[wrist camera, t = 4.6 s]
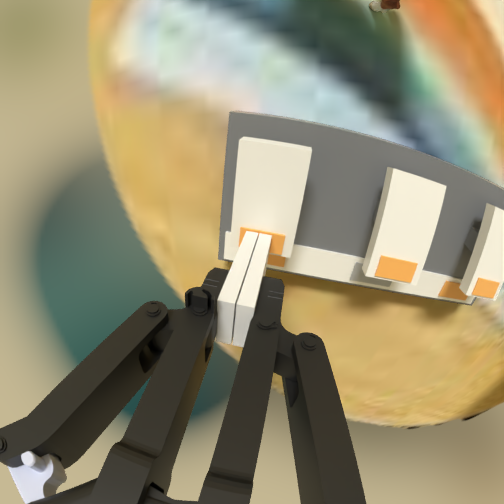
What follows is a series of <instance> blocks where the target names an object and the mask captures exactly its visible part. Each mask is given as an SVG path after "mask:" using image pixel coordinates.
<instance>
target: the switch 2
mask: <svg viewBox="0 0 504 504" xmlns="http://www.w3.org/2000/svg"><path fill="white" fill-rule="evenodd" d="M503 282H504V210H502V209H500V208H498V207H495V206H493V205H491V204H488V203H487V204H486V208H485V212H484V216H483V220H482V223H481V227H480V230H479V234H478V237H477V240H476V243H475V246H474V249H473V252H472V255H471V258H470V261H469V264H468V266H467V269H466V272H465V274H464V277H463V279H462V282H461V284H460V287H459V288H460V289H461V290H462V292H463V293H464V294H465V295H468V296H473V297H479V298H484V299H489V300H496V298H497V296H498V294H499V291H500V289H501V287H502V284H503Z"/></svg>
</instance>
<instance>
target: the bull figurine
mask: <svg viewBox="0 0 504 504" xmlns="http://www.w3.org/2000/svg"><path fill="white" fill-rule="evenodd" d="M369 7H370V8H371V9H372V10H373V11H377V12H378V11H381V12H382V13H386V12H387V11H388V10H390V9H399V8H400V4H399V0H382V1H381V2H376V1H372V2H371V3H370V4H369Z"/></svg>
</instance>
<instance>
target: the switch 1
mask: <svg viewBox="0 0 504 504" xmlns="http://www.w3.org/2000/svg"><path fill="white" fill-rule="evenodd" d="M311 154H312V147H307V146H302V145H297V144H291V143H285V142H279V141H273V140H266V139H259V138H252V137H242V138H241V139H239V145H238V156H237V167H236V178H235V189H234V201H233V213H232V225H231V238H230V247H235V248H239V247H240V245H241V242H242V240H243V237H244V235H245V233H246V231H250V232H256V233H258V237H259V234H260V233H261V234H267V235H272V238H271V244H270V250H269V254H272V255H277V256H282V257H287V258H290V257H291V253H292V248H293V244H294V239H295V235H296V230H297V225H298V220H299V216H300V211H301V206H302V201H303V196H304V191H305V186H306V181H307V175H308V170H309V165H310V159H311Z"/></svg>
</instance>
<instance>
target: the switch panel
mask: <svg viewBox="0 0 504 504" xmlns="http://www.w3.org/2000/svg"><path fill="white" fill-rule="evenodd" d="M242 137H252V138H259V139H266V140H273V141H279V142H285V143H291V144H297V145H302V146H307V147H312V154H311V159H310V165H309V170H308V175H307V181H306V186H305V191H304V196H303V201H302V206H301V211H300V216H299V220H298V225H297V230H296V235H295V239H294V244H293V248H292V253H291V257H290V258H287V257H282V256H277V255H272V254H269V256H268V262H267V268H266V269H270V270H275V271H280V272H285V273H291V274H296V275H301V276H306V277H312V278H317V279H322V280H328V281H333V282H339V283H344V284H350V285H355V286H361V287H366V288H372V289H377V290H383V291H389V292H394V293H400V294H406V295H411V296H417V297H423V298H429V299H435V300H441V301H447V302H453V303H459V304H465V305H471V306H472V304H473V303H474V301H475V299H476V298H477V297H473V296H468V295H465V294H464V293H463V292H462V290H461V289H460V288H459V287H460V284H461V282H462V279H463V277H464V274H465V272H466V269H467V266H468V264H469V261H470V258H471V255H472V252H473V249H474V246H475V243H476V240H477V237H478V234H479V230H480V227H481V223H482V220H483V216H484V212H485V208H486V204H487V203H488V204H491V205H493V206H495V207H498V208H500V209H502V210H504V188H502V187H500V186H499V185H497V184H495V183H493V182H491V181H489V180H487V179H485V178H483V177H481V176H478V175H476V174H474V173H472V172H470V171H468V170H465V169H463V168H461V167H459V166H456V165H454V164H452V163H449V162H447V161H444V160H442V159H439V158H437V157H434V156H432V155H429V154H426V153H423V152H421V151H418V150H415V149H412V148H409V147H406V146H403V145H400V144H397V143H394V142H391V141H388V140H384V139H381V138H377V137H374V136H370V135H367V134H363V133H359V132H355V131H351V130H347V129H343V128H339V127H335V126H330V125H325V124H321V123H316V122H311V121H305V120H300V119H294V118H288V117H282V116H275V115H268V114H260V113H252V112H243V111H233V112H230V114H229V124H228V134H227V145H226V156H225V168H224V180H223V193H222V207H221V221H220V237H219V254H218V259H219V260H224V261H229V262H233V261H234V259H235V256H236V254H237V252H238V249H239V248H235V247H230V238H231V225H232V213H233V201H234V189H235V178H236V167H237V156H238V145H239V139H241V138H242ZM387 167H390V168H394V169H398V170H401V171H404V172H407V173H411V174H414V175H417V176H420V177H423V178H426V179H428V180H431V181H434V182H437V183H440V184H442V185H445V186H446V191H445V195H444V200H443V204H442V208H441V212H440V215H439V219H438V223H437V226H436V230H435V233H434V236H433V240H432V243H431V246H430V249H429V252H428V255H427V258H426V261H425V264H424V267H423V269H422V272H421V275H420V277H419V280H418V283H417V285H416V286H415V285H410V284H404V283H399V282H394V281H388V280H383V279H378V278H373V277H367V276H365V274H364V272H363V270H362V266H363V263H364V259H365V256H366V253H367V249H368V246H369V242H370V239H371V235H372V231H373V228H374V224H375V220H376V216H377V212H378V208H379V204H380V199H381V195H382V191H383V186H384V181H385V176H386V172H387Z"/></svg>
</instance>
